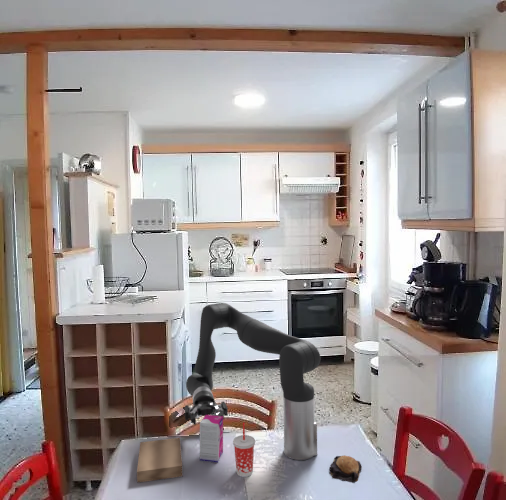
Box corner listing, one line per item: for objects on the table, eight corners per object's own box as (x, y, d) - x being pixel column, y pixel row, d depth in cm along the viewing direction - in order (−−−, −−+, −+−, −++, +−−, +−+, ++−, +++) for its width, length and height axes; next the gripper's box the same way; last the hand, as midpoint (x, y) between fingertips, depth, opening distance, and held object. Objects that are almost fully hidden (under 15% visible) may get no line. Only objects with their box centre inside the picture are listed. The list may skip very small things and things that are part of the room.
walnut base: (180, 446, 130) (180, 437, 130) (182, 476, 114) (182, 465, 114) (140, 451, 127) (140, 442, 127) (137, 482, 112) (136, 471, 112)
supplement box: (218, 463, 120) (217, 424, 120) (199, 461, 122) (198, 422, 121) (224, 452, 126) (223, 415, 126) (205, 450, 127) (204, 414, 127)
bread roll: (333, 459, 122) (333, 447, 122) (362, 464, 120) (362, 451, 119) (327, 479, 112) (326, 466, 112) (359, 485, 110) (359, 471, 109)
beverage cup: (251, 480, 112) (250, 429, 111) (230, 476, 114) (229, 426, 113) (258, 467, 118) (257, 419, 117) (238, 464, 120) (237, 416, 119)
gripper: (183, 392, 148) (185, 411, 132) (222, 388, 151) (229, 406, 135) (183, 412, 148) (185, 434, 132) (223, 408, 151) (230, 429, 135)
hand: (208, 420), depth 134 cm, fingers open, 8 cm apart
